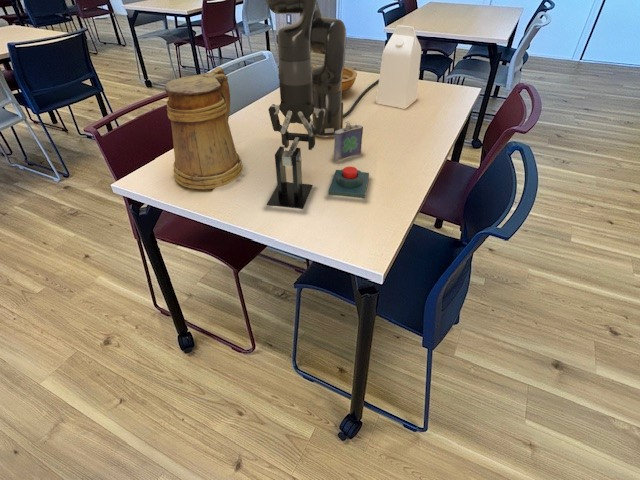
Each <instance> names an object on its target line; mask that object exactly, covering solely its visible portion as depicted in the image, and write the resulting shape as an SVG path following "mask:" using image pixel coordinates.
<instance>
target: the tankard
mask: <svg viewBox="0 0 640 480" xmlns="http://www.w3.org/2000/svg"><path fill="white" fill-rule="evenodd" d="M229 84H230V83H229V79H228V76H227V75H226V73H225V72H224V68H222V67H221V66H218V67H216V68H214V69H212V70H211V71H210V72H204V73H203V72H202V73H199V74H194V75H186V76H182V77H178V78H174V79H171V80H169V81H168V82H166V83H165V86H164V91H165V93H166V94H167V97H168V98H167V100H166V110H167V111H166V112H167V117H168V120H170V125H171V133H172V143H173V155H174V161H173V165H172V166H173V170H172V171H173V177H174V180H175V182H176V183H178V184H179V185H180V186H182V187H185V188H188V189H194V190H211V189H212V190H213V189H216V188H219V187H224V186H226V185H229V184H231V183H232V182H234V181H235V180H236V179H238V177H239V176H241V174H242V172H243V170H244V167H243V166H244V165H243V163H242V159H241V158H242V157H241V156H240V154H239V153H238V152H237V148H236V145H235V142H234V139H233V135H232V132H231V128H230V124H229V118H230V112H231V111H230V110H231V89H230V85H229Z"/></svg>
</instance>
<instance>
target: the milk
mask: <svg viewBox="0 0 640 480" xmlns="http://www.w3.org/2000/svg"><path fill="white" fill-rule="evenodd" d="M384 46H385V47H384V49H383V51H382V56H381V64H380V71H379V76H378V77H379V78H378V80H379V82H378V83H377V84H378V85H377V91H376V98H375V104H378V105H384V106H387V107H393V108H397V109H402V110H406V109H407V108H408V107H409V106H411V105H412V104H413V103H414V102H415V101H417V96H418V87H419V79H420V78H419V77H420V67H421V59H422V58H421V57H422V46H421V43H420V41H419V39H418V36H417V34H416V30H415V26H411V25H402V24H397V25H396V27H395V29H394V30H393V33H392V34H391V36H390V38H389V40H388V41H387V43H386V45H384Z"/></svg>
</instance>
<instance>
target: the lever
mask: <svg viewBox="0 0 640 480" xmlns="http://www.w3.org/2000/svg"><path fill="white" fill-rule="evenodd" d="M308 136H309V134H308V133H301V132H288V134H287V140H289V141H290V142H291V141H292V142H291V145H290V147H289V149H288V150H286V149H284V153H283V155H282V164H283V166H285V167H292V155H293V153H294V151H295V149H296V148H298V145H299V144H300V142H305V143H308Z"/></svg>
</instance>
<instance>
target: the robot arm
mask: <svg viewBox="0 0 640 480" xmlns="http://www.w3.org/2000/svg"><path fill="white" fill-rule="evenodd" d="M265 2H266V5H267V7H268V9H269V10H270V11H271V12H272V13H273V14H277V15H286V14H287V15H290V14H291V15H295V14H297V15H298V14H299V17H300V18H299V19H298V21H296V22H295V23H293V24H290V25H285V26H282V27H281V28H279V29H278V31H277V51H278V74H277V75H278V76H277V77H278V83H279V95H280V96H279V97H280V103H279V104H274V103H272V104H271V105H270V106H269V108H268V114H269V118H270V122H271V126H272V129H273V131H274V132H278V133H280V134H281V135H280V137H281V144H282V147H284V149H288V148H289V146H290V140H287V134H288V132H289V131H288V129H289V127H290V124H299V125H303V128H304V129H305V130H306V133H307V134H309V136H308V142H307V146H308V149H307V150H308V151H312V150H313V149H314V148H315V145H316V137H317V138H321V139H333V138H335V135H334V134H335V131H337V130H340V129H343V128H344V126H343V125H344V118H345V117H347V116H348V115H349V114H350V113H351V112H352V111H353V110H354V109H355V107H356V106H357V105H358V103H359V101H360V100H361V99H362V98H363V96H364V95H365V94H366V93H367V92H368V91H369V90H370V89H371V88H373V87H374V86H375V85H377V84H379V79H377V80H376V81H375V82H372V84H370V85H369V86H368V87H367V88H366V89H365V90H363V92H361V94H360V95H359V96H358V97H357V98H356V100H355V101H354V103H353V104H352V105H351V107H350V108H349V109H348V111H346V112H345V113H344V102H342V93H343V92H342V72H343V69H344V67H345V63H346V62H345V61H346V47H347V28H346V25H345V23H344V21H343V20H341V19H339V18H335V17H325V16H323V15H322V12H321V8H320V2H319V0H265ZM311 52H313V53H316V54H321V55H324V59H323V64H317V65H318V66H317V65H314V66H315V67H314V68H313V69H312V66H313V64H312V58H311V57H312V56H311V55H312V54H311ZM279 113H282V115H283V116H284V120H283V123H282V124H281V120H280V118H279V117H280V116H279ZM289 133H290V132H289Z"/></svg>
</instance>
